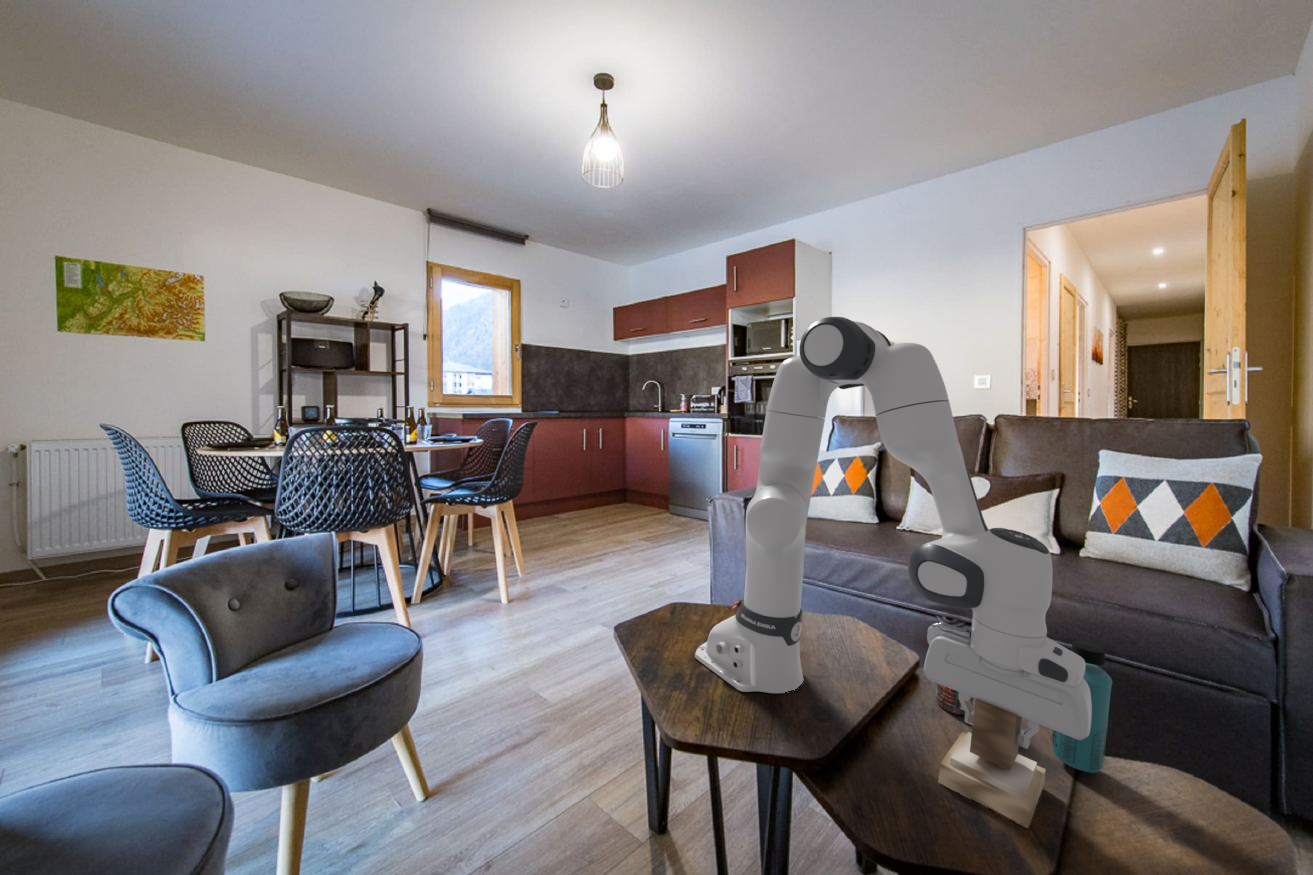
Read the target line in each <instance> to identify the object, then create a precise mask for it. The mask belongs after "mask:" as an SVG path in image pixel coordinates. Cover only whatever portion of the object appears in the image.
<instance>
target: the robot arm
mask: <svg viewBox="0 0 1313 875" xmlns="http://www.w3.org/2000/svg"><path fill="white" fill-rule="evenodd" d="M799 342H800V344H799V355H798V356H797V355H796V356H795V355H794V356H792V357H789V358H787V359H784V360H783V362H781V363H780V365H779V366H778V368H777V371H776V373H775V376H774V379H773V381H772V382H773V383H772V386H771V390H770V392H769V396H768V400H767V406H766V412H765V416H764V417H765V418H764V424H763V430H762V435H761V441H760V448H759V461H758V473H757V481H756V490H755V492H754V495H753V497H752V498H751V500H750V501H749V503H748V504H747V507H746V510H745V512H746V513H745V557H746V558H745V560H746V565H745V582H744V583H745V584H744V585H745V586H744V595H743V598H741V599H739V600H738V601H737V602H734V603H732V604H731V605H732V606H733V607H732V608H731V609H732V610H736V609H737V608H738V609H737V611H736V613H735V614H734V615H732V616H730V617H728V618H726V619H724V620H722V621H721V622H719V623H717V624H716V625H714V626H713V627H712V629H711V630H710V632H709V635H708V637H707V641H706V642H704V643H702V644H700V645H699V647H697V649H696V651H695V655H694V658H695V659H696V660H697V661H699V662H700V663H701V664H703V665H704V666H705V667H706V668H708V669H709V670H711V671H712V672H713V673H715V674H716V675H717V676H719V677H720V678H722V680H724V681H726V683H727V684H729V685H731V687H734V688H735V689H736V690H738V691H740V692H742V693H743V692H745V693H749V692H760V693H761V692H762V693H768V694H786V693H785V692H787V693H789V692H788V691H791V690H794V691H796V690H795V689H797V688H798V687H799V686H800V685H801V684H802V683H803V684H804V682H805V680H804V679H805V678H803V677H804V674H803V668H802V664H801V657H800V656H801V653H800V639H801V634H802V625H803V609H802V607H801V606H802V605H801V604H802V594H803V592H802V591H803V582H804V581H803V578H804V565H805V563H804V562H805V561H804V560H805V548H806V547H805V545H806V530H807V521H808V514H809V509H810V503H811V498H812V492H813V486H814V481H815V475H816V471H817V470H816V469H817V465H818V460H819V455H820V454H819V453H820V450H821V449H820V448H821V443H822V437H823V432H824V426H825V421H826V414H827V408H828V405H829V400H830V397H831V395H832V393H833V392H834V391H835V390H837V389H838V388H839V389H840V390H848V389H852V388H857V387H866V388H867V390H868V391H869V394H870V395H871V400H872V403H873V409H874V413H875V420H876V424H877V427H878V432H879V435H880V439H881V440H882V442H883V445H884V447H885V450H886V451H887V453H889V454H890V455H891V457H893V458H894V459H895V460H897V461H898V462H900V463H902V464H904V465H906V466H908V467H909V468H911V469H912V470H914V471H915V472H916V473H918V474H919V475H920V476H921V477H922V478H923V479H924V480H925V481H926V484H928V486H929V489H930V491H931V494H932V497H933V501H934V505H935V508H936V511H937V515H938V517H939V520H940V524H941V527H942V536H941V538H939V539H935V540H932V541H929V542H927V543H924V544H922V545H920V546H918V547H917V548H916V549H914V550H913V551H912V552H911V554H910V555H909V558H908V562H907V574H908V577H909V580H910V583H911V585H912V586H913V588H914V589H915V591H916V592H918V594H919V595H921V597H923V598H924V599H926V600H928V601H930V602H933V603H935V604H938V605H945V606H950V607H954V608H964V609H971V610H972V621H971V630H968V629H964V628H962V627H958V626H957V627H956V626H954V625H950V624H948V623H947V622H941V621H940V622H938V623H932V624H930V625H929V626H928V628H927V634H926V635H927V636H926V640H927V644H928V645H929V646H928V649H927V652H926V655H925V660H924V665H923V673H924V675H925V676H926V678H927V680H929V681H931V682H933V683H935V684H937V683H938V684H940V685H943V686H945V687H948V688H950V689H953V690H955V691H958V692H959V695H958V699H959V701H960V703H961V705H962V707H963V709H964V711H965V715H964V720H963V721H964V723H967V724H969V725H972V726H973V717H974V707H973V706H972V704H971V702H970V699H971V697H973V699H975V700H976V699H979V700H982V701H984V702H987V703H989V704H992V705H994V706H997V707H999V708H1002V709H1004V710H1007V711H1009V712H1011V713H1014V714H1016V715H1018V716H1020V717H1022V719H1025V720H1027V728H1026V729H1022V728H1021V729H1020V728H1019V729H1018V731H1017V733H1016V740H1015V744H1017V745H1019V746H1020V747H1022V748H1024V749H1025V750H1026V749H1029V746H1030V743H1031V738H1032V737H1034V735H1036V734H1038V732H1040V730H1041V728H1042V726H1043V727H1045V728H1047V729H1050V730H1053V731H1054V730H1055V731H1057V732H1060V733H1062V734H1065V735H1067V736H1070V737H1072V738H1074V739H1077V740H1082V739H1084V738H1086V737H1088V736H1089V733H1090V729H1091V721H1092V703H1091V693H1090V688H1089V686H1088V684H1087V682H1086V681H1085V679H1084V678H1083V677H1084V674H1085V661H1084V659H1083V658H1082V657H1081V656H1079V655H1077V654H1076V653H1074V652H1072V651H1071V649H1068V648H1066V647H1065V646H1064V645H1061V644H1059V643H1058V642H1056V641H1055V640H1053V639H1051V638H1049V637H1048V636H1047V634H1048V628H1047V624H1046V614H1047V611H1048V609H1049V608H1050V606H1051V602H1052V594H1053V574H1054V573H1053V572H1054V571H1053V560H1052V556H1051V552H1050V550H1049V548H1048V546H1046V545H1045V544H1044V543H1043V542H1042V541H1040V540H1038V539H1037V538H1035V537H1034V536H1031V535H1029V534H1026V533H1025V532H1022V531H1017V530H1015V529H1014V530H1013V529H1009V528H1005V527H991V528H988V526H987V524H986V521H985V519H984V516H983V512H982V510H981V506H980V504H979V500H978V497H977V493H976V491H975V487H974V484H973V481H972V476H971V474H970V472H969V469H968V466H967V463H966V460H965V458H964V455H963V452H962V447H961V444H960V442H959V438H958V437H959V436H958V433H957V430H956V424H955V421H954V416H953V411H952V407H951V402H950V399H949V395H948V392H947V388H946V385H945V383H944V380H943V376H942V374H941V371H940V368H939V366H938V364H937V361H936V360H935V357H934V356H933V353H932V352H931V351H930V350H929V348H927V347H926V346H925V345H922V344H919V343H915V342H914V343H913V342H901V343H896V344H893V345H892V343H891V341H890V340H889V338H887V336H886V335H885V334H883V333H882V332H881V331H878V330H877V329H875V328H874V327H872V326H870V325H868V324H866V323H863V322H860V321H854V320H851V319H849V318H846V317H844V316H843V317H842V316H827V317H823V318H821V319H817V320H816V321H814V322H813V323H811V325H810V326H808V328H806V329H805V331H804V333H803V334H802V336H801V339H800V341H799ZM803 681H804V682H803ZM803 684H802V685H803ZM798 689H799V688H798ZM798 689H797V690H798Z"/></svg>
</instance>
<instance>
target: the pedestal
mask: <svg viewBox="0 0 1313 875" xmlns="http://www.w3.org/2000/svg"><path fill="white" fill-rule="evenodd" d="M971 736H972V732H970V731H967V732H966V733H965V731H962V732H961V733H960V734H959V736H958V737H957V739H955V741H954V744H952V745H951V747H950V749H949V750H948V752H947V753H946V755H945V756H944V757H943V759H942V760H941V761H940V763H939V771H938V784H940V785H942V786H945V787H946V788H948V789H950V790H952V791H954V792H955V793H957V792H958V794H959V793H960V794H959V795H961V796H963V797H965V798H967V799H969V800H971V799H972V800H974V801H976V802H978V803H980V804H985V805H987V806H989V807H992V808H993V809H995V810H997V811H998V812H1000V813H1002V814H1003V815H1005V816H1007V817H1009V818H1012V819H1014V820H1016V821H1018V822H1020V823H1023V824H1025V825H1026V826H1028V827H1029V824H1030V822H1031V823H1032V821H1031V819H1032V817H1033V818H1034V816H1033V814H1034V815H1035V813H1034V811H1035V808H1036V805H1037V803H1038V804H1039V802H1038V800H1039V797H1040V794H1041V791H1042V788H1043V786H1044V787H1045V780H1046V773H1047V772H1046V771H1047V769H1046V768H1044V767H1041V766H1039V765H1038V762H1037V761H1035V760H1032V759H1030V758H1028V757H1026V756H1023V755H1021V754H1019V753H1018V755H1017V757H1016V759H1015V761H1014V763H1013V766H1012V768H1011V770H1010V771H1009V770H1007V769H1005V768H1003V767H1001V766H999V765H997V764H994V763H992V762H990V761H988V760H986V759H984V758H982V757H980V756H977V755H975V754H973V753H971V752H970V745H971ZM1041 795H1042V794H1041ZM1040 798H1041V797H1040ZM972 800H971V801H972ZM974 801H973V802H974ZM1039 801H1040V800H1039ZM976 802H975V803H976ZM978 803H977V804H978ZM980 804H979V805H980ZM1037 806H1038V805H1037ZM1036 809H1037V808H1036ZM1035 812H1036V811H1035ZM1032 820H1033V819H1032ZM1030 825H1031V824H1030ZM1029 828H1030V827H1029Z"/></svg>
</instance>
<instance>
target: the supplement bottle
mask: <svg viewBox="0 0 1313 875" xmlns="http://www.w3.org/2000/svg"><path fill="white" fill-rule="evenodd" d="M935 691H936V692H935V700H936V703H937V704H938V706H939V707H941V708H942V709H944V710H945V711H947V712H950V713H952V714H955V715H959V716H960V715H962V716H965V711H964V709H963V707H962V705H961V703H960V701H959V699H958V695H959V692H958V691H955V690H953V689H950V688H948V687H945V686H943V685H940V684H938V683H936V690H935ZM970 702H971V704H972V706H973V705H974V698H973V697H971V699H970Z"/></svg>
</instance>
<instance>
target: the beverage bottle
mask: <svg viewBox="0 0 1313 875" xmlns="http://www.w3.org/2000/svg"><path fill="white" fill-rule="evenodd" d="M1070 651H1072V652H1074V653H1076V654H1077V655H1079V656H1081V657H1082V658H1083V659H1084V661H1085V674H1084V677H1083V678H1084V679H1085V681H1086V682H1087V684H1088V686H1089V688H1090V693H1091V703H1092V721H1091V729H1090V733H1089V736H1088V737H1086V738H1084V739H1082V740H1077V739H1074V738H1072V737H1070V736H1067V735H1065V734H1062V733H1060V732H1057V731H1055V730H1052V729H1051V730H1052V735H1051V742H1050V743H1051V744H1050V746H1051V749H1052V752H1053V754H1054V756H1055V757H1056V758H1057V759H1058V760H1059V761H1061V762H1062V763H1064V764H1066V765H1068V766H1069V767H1072V768H1073V769H1076V770H1079V771H1081V772H1085V773H1098V772H1101V770H1102V769H1103V768H1104V766H1105V763H1104V761H1105V760H1106V758H1105V755H1106V752H1107V750H1106V746H1107V744H1108V743H1107V742H1108V739H1107V738H1108V729H1109V724H1110V723H1109V714H1110V713H1109V710H1110V701H1111V694H1112V693H1111V692H1112V685H1113V680H1112V678H1111V676H1110V675H1109V674H1108V673H1107V672H1106V671H1105V670H1104V669H1103V668H1101V667H1100V666H1104V665H1105V663H1106V651H1105V649H1104V648H1102V647H1101V646H1099V645H1097V644H1094V643H1091V642H1088V641H1084V640H1074V641H1073V642H1072V644H1071V649H1070Z"/></svg>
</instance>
